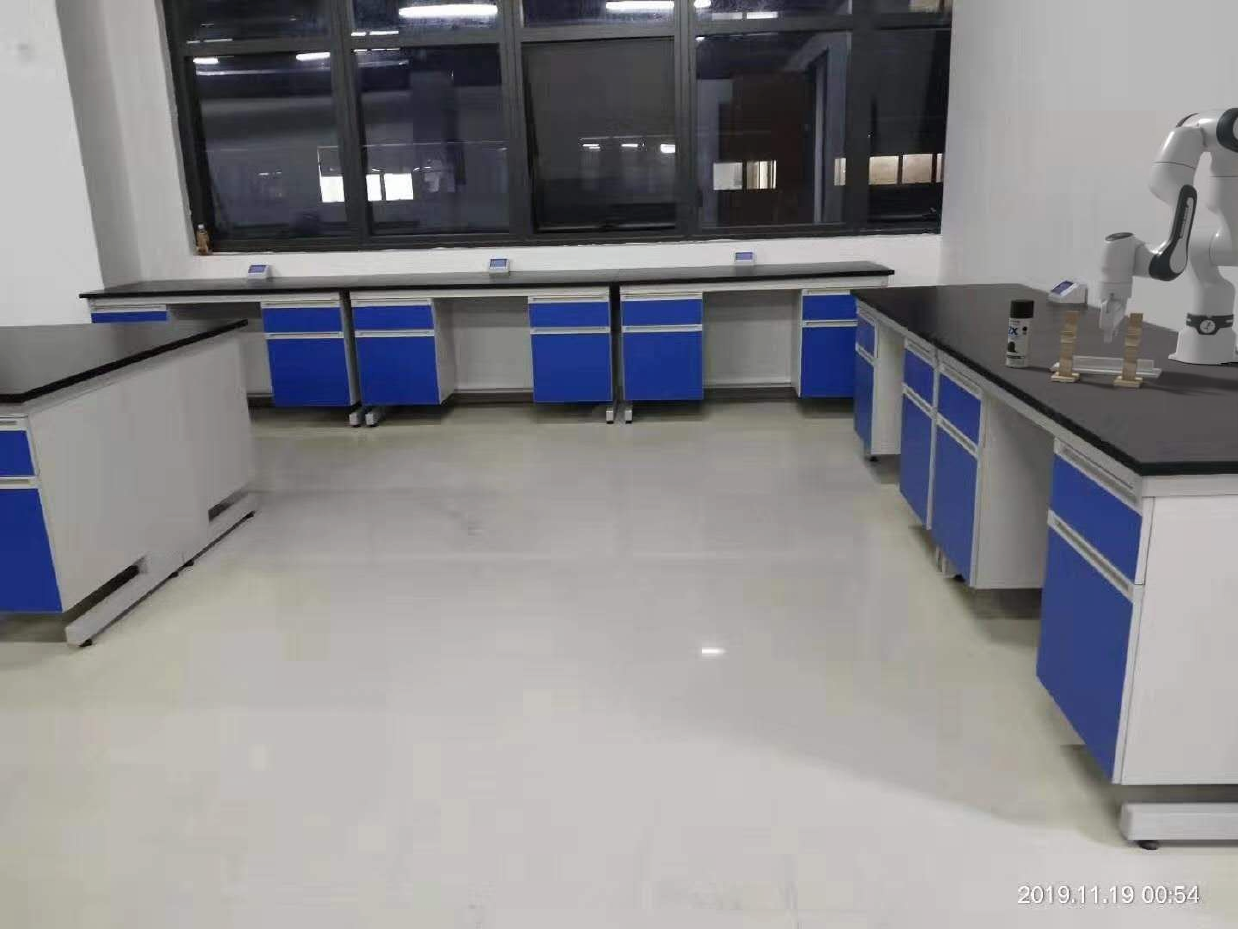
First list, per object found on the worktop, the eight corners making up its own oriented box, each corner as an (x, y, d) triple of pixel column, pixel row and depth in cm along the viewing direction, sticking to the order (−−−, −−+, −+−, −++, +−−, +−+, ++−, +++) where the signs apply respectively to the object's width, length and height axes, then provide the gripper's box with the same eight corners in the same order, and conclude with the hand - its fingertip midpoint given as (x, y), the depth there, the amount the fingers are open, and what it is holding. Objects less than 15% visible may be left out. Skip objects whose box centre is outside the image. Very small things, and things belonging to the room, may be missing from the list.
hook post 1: (1056, 376, 273) (1062, 309, 268) (1078, 377, 270) (1085, 310, 265) (1050, 381, 267) (1056, 313, 262) (1073, 382, 264) (1079, 314, 258)
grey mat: (1057, 364, 288) (1057, 362, 288) (1161, 371, 273) (1162, 368, 273) (1050, 370, 281) (1050, 368, 280) (1157, 377, 265) (1158, 375, 265)
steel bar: (1062, 364, 284) (1063, 354, 283) (1152, 370, 271) (1154, 360, 270) (1060, 366, 282) (1061, 356, 281) (1151, 372, 269) (1152, 361, 268)
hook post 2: (1118, 380, 265) (1125, 312, 259) (1142, 381, 261) (1150, 312, 256) (1113, 385, 258) (1120, 316, 253) (1138, 387, 255) (1146, 316, 250)
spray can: (1000, 365, 291) (1005, 300, 285) (1018, 363, 293) (1023, 298, 288) (1016, 369, 285) (1021, 302, 279) (1034, 366, 287) (1039, 300, 282)
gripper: (1121, 297, 260) (1116, 346, 265) (1132, 286, 276) (1127, 333, 280) (1095, 296, 264) (1092, 345, 268) (1107, 286, 280) (1104, 332, 284)
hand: (1110, 339), depth 274 cm, fingers open, 8 cm apart
